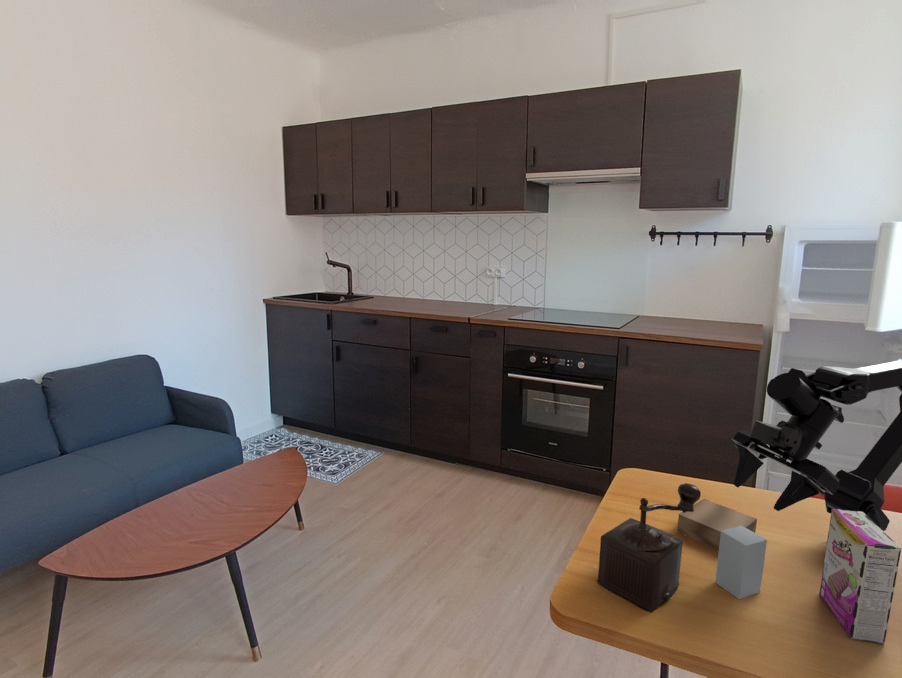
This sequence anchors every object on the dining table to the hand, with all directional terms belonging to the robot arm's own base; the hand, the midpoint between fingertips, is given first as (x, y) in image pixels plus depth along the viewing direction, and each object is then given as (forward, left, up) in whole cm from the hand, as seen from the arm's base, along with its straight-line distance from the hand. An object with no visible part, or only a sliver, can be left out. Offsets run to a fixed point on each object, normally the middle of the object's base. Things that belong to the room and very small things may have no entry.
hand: (754, 497), depth 98 cm
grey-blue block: (-1, +7, -14) cm, 16 cm away
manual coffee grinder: (+10, +18, -14) cm, 25 cm away
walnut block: (+9, -8, -14) cm, 19 cm away
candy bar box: (-16, +1, -14) cm, 22 cm away
